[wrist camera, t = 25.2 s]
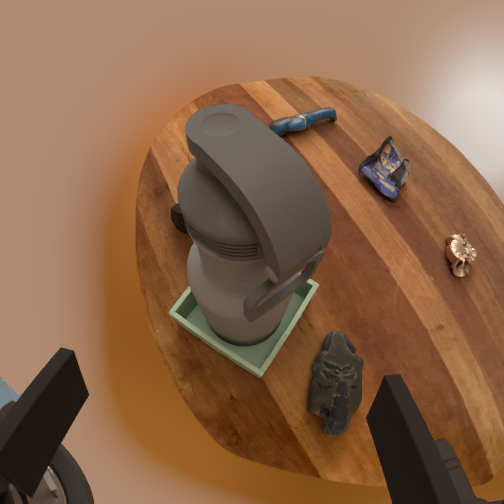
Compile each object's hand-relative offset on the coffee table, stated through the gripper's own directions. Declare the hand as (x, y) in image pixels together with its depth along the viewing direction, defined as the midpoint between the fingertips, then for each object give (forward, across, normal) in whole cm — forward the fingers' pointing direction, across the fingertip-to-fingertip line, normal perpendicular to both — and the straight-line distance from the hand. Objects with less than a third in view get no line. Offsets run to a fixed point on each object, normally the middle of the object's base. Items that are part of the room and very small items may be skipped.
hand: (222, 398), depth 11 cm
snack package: (+44, -24, -8) cm, 51 cm away
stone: (+19, -12, +17) cm, 28 cm away
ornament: (+33, -36, +4) cm, 49 cm away
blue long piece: (+52, -9, -16) cm, 55 cm away
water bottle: (+25, 0, +10) cm, 27 cm away
